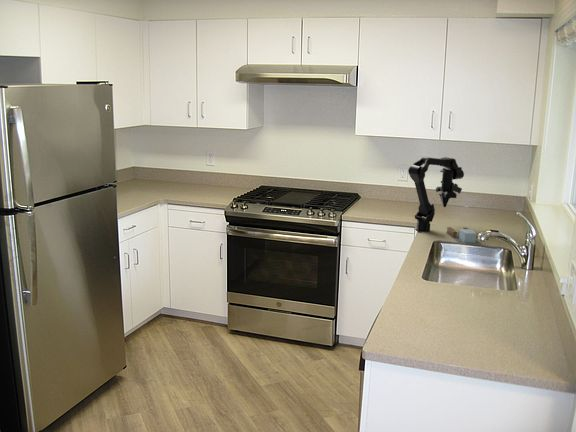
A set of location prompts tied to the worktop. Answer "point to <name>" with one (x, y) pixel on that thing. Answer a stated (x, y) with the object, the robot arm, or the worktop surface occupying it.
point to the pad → (463, 242)
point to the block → (467, 235)
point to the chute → (453, 232)
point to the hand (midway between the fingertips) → (444, 207)
